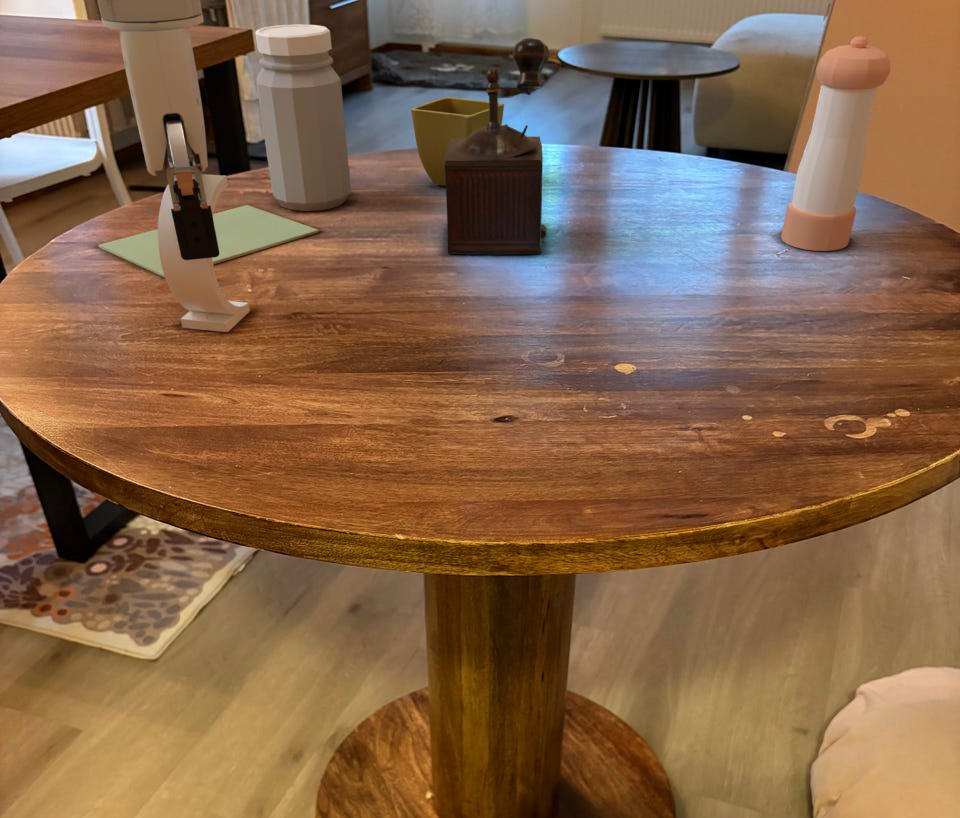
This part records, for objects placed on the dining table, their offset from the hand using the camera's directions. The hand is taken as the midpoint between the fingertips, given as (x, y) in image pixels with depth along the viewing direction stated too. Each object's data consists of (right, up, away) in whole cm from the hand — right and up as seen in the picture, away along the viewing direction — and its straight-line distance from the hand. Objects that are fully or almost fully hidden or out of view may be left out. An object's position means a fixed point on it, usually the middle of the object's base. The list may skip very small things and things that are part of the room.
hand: (198, 241), depth 81 cm
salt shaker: (+62, +9, +21) cm, 67 cm away
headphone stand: (0, -6, +5) cm, 8 cm away
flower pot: (+22, +24, +39) cm, 51 cm away
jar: (+4, +19, +33) cm, 39 cm away
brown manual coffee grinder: (+27, +11, +24) cm, 38 cm away
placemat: (-5, +10, +22) cm, 25 cm away
